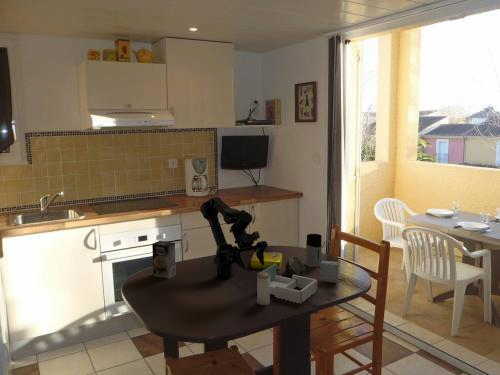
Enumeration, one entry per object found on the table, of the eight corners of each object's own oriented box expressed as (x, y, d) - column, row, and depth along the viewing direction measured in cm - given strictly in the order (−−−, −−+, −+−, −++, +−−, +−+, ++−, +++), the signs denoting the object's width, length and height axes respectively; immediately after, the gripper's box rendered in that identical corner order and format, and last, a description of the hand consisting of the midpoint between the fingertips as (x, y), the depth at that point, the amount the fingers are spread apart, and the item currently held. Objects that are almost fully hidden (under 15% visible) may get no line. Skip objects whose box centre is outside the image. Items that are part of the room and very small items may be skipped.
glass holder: (310, 260, 230) (310, 232, 227) (334, 265, 222) (335, 236, 219) (302, 264, 223) (302, 236, 220) (327, 270, 215) (328, 240, 212)
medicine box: (338, 279, 202) (338, 262, 200) (337, 283, 198) (337, 265, 196) (321, 277, 204) (321, 260, 203) (319, 281, 200) (320, 263, 199)
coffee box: (152, 276, 207) (151, 243, 205) (160, 272, 213) (159, 240, 210) (169, 279, 204) (167, 245, 201) (176, 274, 210) (175, 242, 207)
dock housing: (275, 297, 183) (275, 286, 182) (293, 285, 196) (293, 274, 195) (300, 303, 176) (300, 292, 175) (317, 290, 189) (317, 279, 188)
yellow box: (254, 259, 233) (254, 250, 232) (282, 260, 230) (282, 251, 230) (250, 268, 218) (250, 259, 217) (280, 270, 216) (280, 261, 215)
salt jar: (255, 303, 176) (255, 275, 174) (260, 298, 181) (260, 271, 179) (267, 306, 174) (267, 277, 172) (271, 301, 179) (271, 273, 177)
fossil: (306, 277, 203) (296, 259, 202) (288, 285, 206) (278, 266, 205) (307, 269, 214) (298, 251, 213) (291, 276, 216) (281, 258, 215)
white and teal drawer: (257, 291, 188) (257, 273, 187) (274, 280, 200) (274, 264, 199) (281, 297, 182) (281, 279, 180) (297, 286, 194) (297, 268, 192)
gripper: (227, 228, 179) (241, 261, 171) (265, 222, 188) (280, 253, 181) (219, 242, 186) (232, 274, 179) (256, 236, 196) (269, 266, 189)
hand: (254, 267), depth 182 cm, fingers open, 9 cm apart
